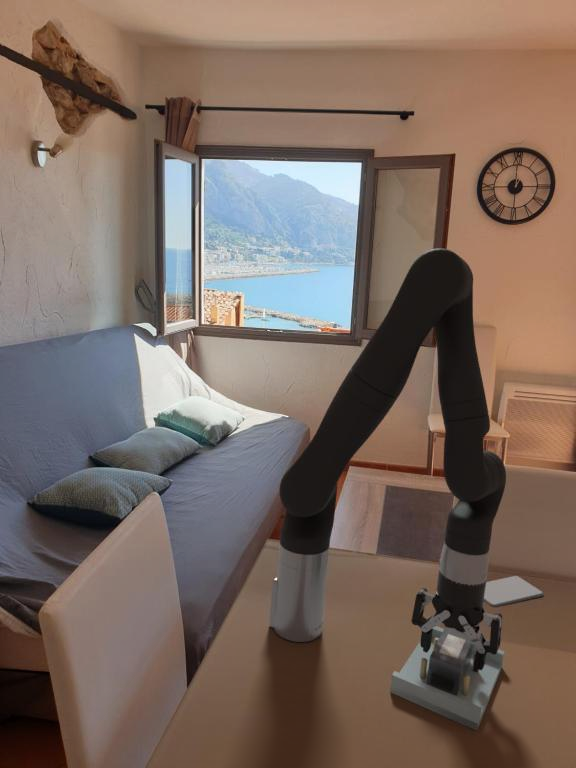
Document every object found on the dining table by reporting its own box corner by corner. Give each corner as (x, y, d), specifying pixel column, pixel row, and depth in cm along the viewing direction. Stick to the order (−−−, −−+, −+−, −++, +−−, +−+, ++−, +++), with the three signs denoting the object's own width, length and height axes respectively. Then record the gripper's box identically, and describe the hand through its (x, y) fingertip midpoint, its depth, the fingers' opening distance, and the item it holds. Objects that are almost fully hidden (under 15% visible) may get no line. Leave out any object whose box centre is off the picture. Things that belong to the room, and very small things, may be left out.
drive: (441, 651, 105) (445, 626, 104) (470, 662, 103) (474, 636, 102) (425, 685, 96) (429, 657, 95) (456, 697, 94) (460, 669, 93)
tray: (390, 692, 96) (392, 669, 95) (425, 638, 111) (427, 617, 110) (476, 730, 89) (480, 706, 88) (502, 667, 104) (505, 646, 103)
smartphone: (466, 585, 131) (516, 574, 137) (465, 589, 131) (516, 578, 137) (492, 605, 123) (545, 593, 129) (492, 609, 124) (544, 597, 130)
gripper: (512, 575, 96) (499, 664, 99) (428, 549, 103) (417, 633, 106) (503, 595, 89) (489, 689, 92) (413, 566, 97) (403, 654, 100)
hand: (451, 659), depth 99 cm, fingers open, 8 cm apart
